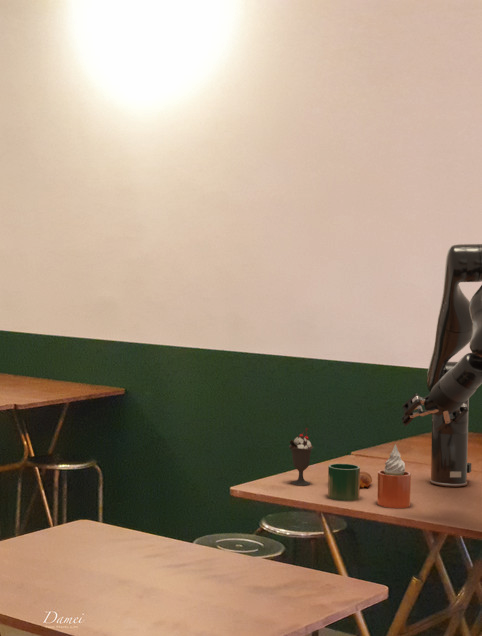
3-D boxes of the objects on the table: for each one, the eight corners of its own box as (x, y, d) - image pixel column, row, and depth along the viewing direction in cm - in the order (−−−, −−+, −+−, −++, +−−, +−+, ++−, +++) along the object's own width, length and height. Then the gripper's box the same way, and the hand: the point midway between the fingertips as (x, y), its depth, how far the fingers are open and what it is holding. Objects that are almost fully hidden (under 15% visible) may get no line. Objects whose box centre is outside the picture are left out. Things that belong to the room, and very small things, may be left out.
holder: (382, 499, 278) (383, 468, 277) (413, 503, 274) (414, 471, 273) (373, 505, 271) (374, 473, 271) (405, 509, 267) (405, 477, 267)
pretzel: (362, 480, 301) (362, 466, 301) (380, 488, 290) (380, 474, 290) (320, 481, 299) (321, 468, 299) (337, 490, 288) (338, 476, 288)
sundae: (315, 482, 298) (316, 427, 297) (310, 486, 292) (311, 431, 291) (291, 479, 301) (292, 426, 300) (285, 484, 295) (286, 429, 294)
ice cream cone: (405, 506, 270) (406, 445, 269) (384, 505, 271) (385, 445, 270) (403, 501, 274) (404, 442, 273) (382, 500, 275) (383, 441, 274)
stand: (333, 492, 286) (334, 462, 285) (363, 496, 282) (363, 465, 281) (323, 498, 279) (324, 467, 279) (353, 502, 275) (354, 470, 274)
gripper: (478, 379, 257) (442, 416, 269) (424, 370, 254) (390, 407, 266) (486, 405, 252) (449, 442, 264) (431, 396, 249) (396, 434, 262)
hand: (419, 424), depth 265 cm, fingers open, 8 cm apart
